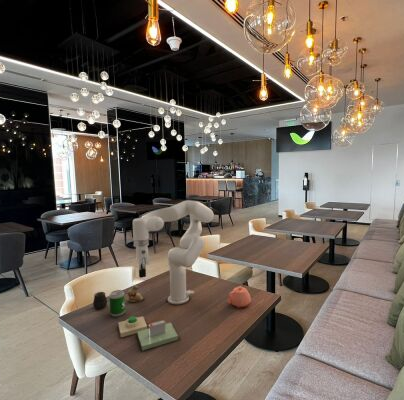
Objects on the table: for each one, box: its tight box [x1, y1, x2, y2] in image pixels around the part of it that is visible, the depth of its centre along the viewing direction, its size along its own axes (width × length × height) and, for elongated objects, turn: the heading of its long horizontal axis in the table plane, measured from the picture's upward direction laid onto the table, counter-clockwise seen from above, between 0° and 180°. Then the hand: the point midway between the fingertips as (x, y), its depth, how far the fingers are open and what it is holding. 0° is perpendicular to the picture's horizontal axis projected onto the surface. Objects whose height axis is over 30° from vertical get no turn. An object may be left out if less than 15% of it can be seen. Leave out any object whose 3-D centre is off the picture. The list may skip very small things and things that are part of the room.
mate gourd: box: [92, 291, 108, 310], centre depth 150 cm, size 7×8×10 cm
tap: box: [148, 319, 166, 337], centre depth 122 cm, size 7×2×5 cm, turn 118°
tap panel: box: [136, 322, 179, 351], centre depth 123 cm, size 16×12×2 cm
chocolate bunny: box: [126, 284, 144, 303], centre depth 158 cm, size 6×8×10 cm
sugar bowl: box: [227, 285, 252, 309], centre depth 152 cm, size 12×14×10 cm
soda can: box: [108, 289, 126, 318], centre depth 143 cm, size 8×8×12 cm
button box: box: [118, 316, 148, 338], centre depth 130 cm, size 12×10×4 cm
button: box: [127, 315, 137, 323], centre depth 130 cm, size 4×4×2 cm
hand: (142, 276), depth 138 cm, fingers closed
